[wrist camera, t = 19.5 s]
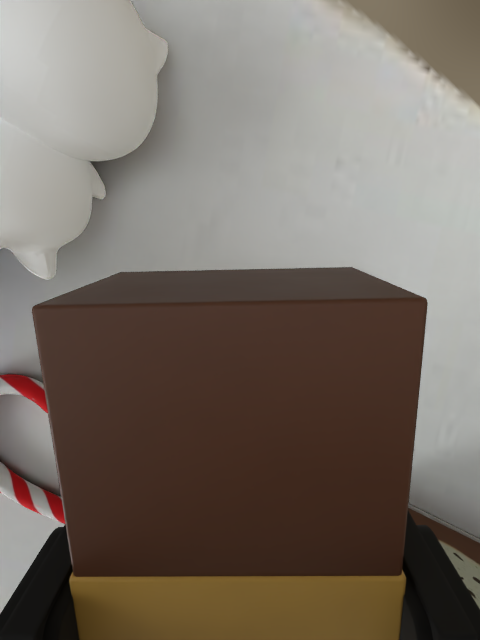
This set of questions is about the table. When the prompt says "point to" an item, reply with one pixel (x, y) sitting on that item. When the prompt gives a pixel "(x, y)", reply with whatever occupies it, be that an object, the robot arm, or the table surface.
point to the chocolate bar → (234, 451)
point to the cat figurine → (67, 114)
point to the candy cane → (10, 482)
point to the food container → (455, 548)
